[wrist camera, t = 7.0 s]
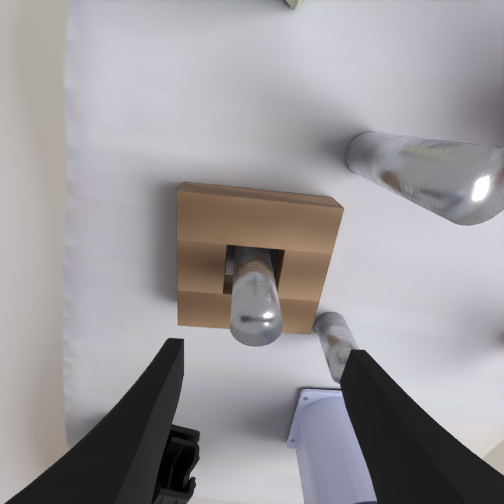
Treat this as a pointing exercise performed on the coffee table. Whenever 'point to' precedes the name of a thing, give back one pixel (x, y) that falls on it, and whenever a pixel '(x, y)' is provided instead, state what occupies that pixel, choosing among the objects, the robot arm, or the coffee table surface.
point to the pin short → (335, 342)
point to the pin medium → (254, 298)
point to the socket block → (253, 235)
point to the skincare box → (295, 3)
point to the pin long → (434, 173)
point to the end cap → (177, 467)
